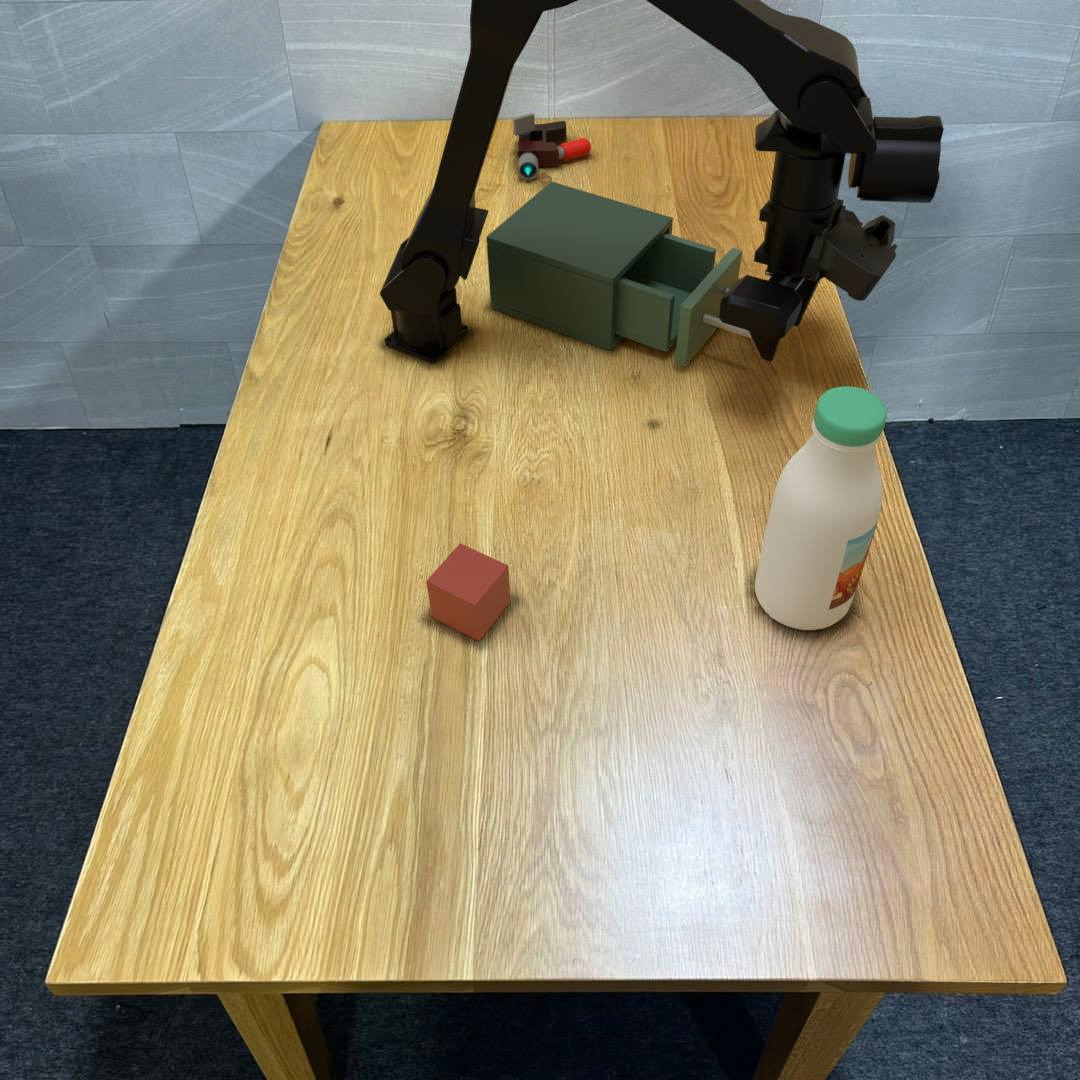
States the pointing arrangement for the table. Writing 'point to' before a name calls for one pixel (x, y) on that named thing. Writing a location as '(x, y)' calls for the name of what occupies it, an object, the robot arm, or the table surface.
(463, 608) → the block
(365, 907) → the table surface
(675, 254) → the drawer
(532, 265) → the cabinet
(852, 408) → the milk bottle
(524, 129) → the toy gun
